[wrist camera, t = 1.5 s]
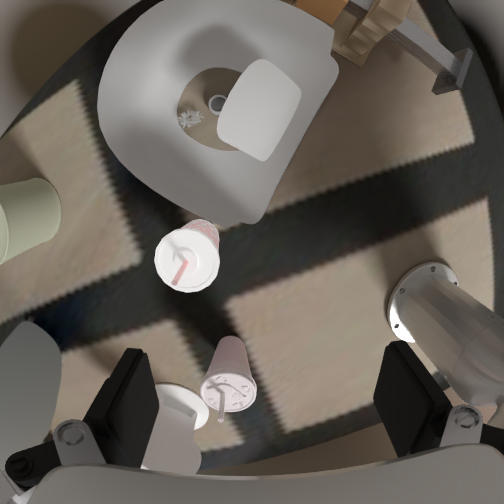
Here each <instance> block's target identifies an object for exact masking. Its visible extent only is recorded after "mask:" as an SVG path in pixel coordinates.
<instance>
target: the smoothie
mask: <svg viewBox="0 0 504 504" xmlns="http://www.w3.org/2000/svg"><path fill="white" fill-rule="evenodd" d="M256 391H257V388H256V383H255V381H254V379H253V378H252V376H251V372H250V368H249V363H248V359H247V354H246V350H245V345H244V343H243V341H242V340H241V339H240V338H238V337H235V336H226V337H224V338H222V339H221V340H220V341H219V343H218V345H217V348H216V351H215V353H214V356H213V359H212V361H211V364H210V367H209V369H208V372H207V374H206V375H205V376H204V377H203V379H202V381H201V385H200V395H201V397H202V399H203V401H204V402H205V403H206V404H207V405H209V406H210V407H212V408H214V409H216V410H219V416H218V421H219V422H223V421H224V412H236V411H240V410H243V409H245V408H247V407H249V406H250V405H251V404H252V403H253V402H254V400H255V398H256Z"/></svg>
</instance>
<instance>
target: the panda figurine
mask: <svg viewBox="0 0 504 504" xmlns="http://www.w3.org/2000/svg"><path fill="white" fill-rule="evenodd" d="M155 388H156V392H157V396H158V399H159V412H158V415H157V418H156V421H155V424H154V427H153V430H152V433H151V436H150V440H149V443H148V446H147V449H146V452H145V455H144V459H143V462H142V465H141V468H140V469H147V470H155V471H163V472H173V473H183V474H196V472H197V471H198V469H199V467H200V464H201V453H200V450H199V448H198V446H197V444H196V443H195V442H194V441H193V434H194V430H195V429H198V428H200V427H202V426H203V425H204V424H205V423H206V421H207V420H208V416H209V409H208V406H207V404H206V403H205V402H204V401H203V399H202V398H201V397H200V396H199V395H198V394H197V393H195V392H194V391H192V390H190V389H188V388H186V387H183V386H180V385H176V384H168V383H164V384H157V385H155Z"/></svg>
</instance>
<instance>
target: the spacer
mask: <svg viewBox="0 0 504 504" xmlns="http://www.w3.org/2000/svg"><path fill="white" fill-rule="evenodd" d="M348 1H349V0H297V3H296V6H295V7H297V8H299V9H301V10H304V11H306V12H308V13H310V14H312V15H314V16H316V17H318V18H320V19H322V20H323V21H325V22H327V23H329V24H331V25H332V24H333V23H334V21H335V20H336V18H337V17H338V15H339V14H340V12H341V11H342V10H343V8H344V7H345V5H346V4H347V2H348Z"/></svg>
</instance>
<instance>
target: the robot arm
mask: <svg viewBox="0 0 504 504" xmlns="http://www.w3.org/2000/svg"><path fill="white" fill-rule="evenodd" d="M387 319H388V323H389V326H390V328H391V330H392V331H393V332H394V334H395V335H396V336H397V337H399V338H400V339H402V340H400V341H392V342H390V344H389V346H386V348H385V352H384V356H383V360H382V365H381V369H380V373H379V377H378V381H377V384H376V388H375V392H374V396H373V400H374V404H375V406H376V408H377V411H378V413H379V415H380V417H381V419H382V422H383V424H384V426H385V428H386V431H387V433H388V435H389V437H390V440H391V442H392V444H393V447H394V449H395V451H396V454H397V456H398V458H395V459H390V460H386V461H382V462H376V463H372V464H367V465H361V466H356V467H350V468H344V469H338V470H330V471H322V472H313V473H303V474H291V475H275V476H211V475H210V476H209V475H195V474H183V473H173V472H163V471H155V470H147V469H140V468H141V465H142V462H143V459H144V455H145V452H146V449H147V446H148V443H149V440H150V436H151V433H152V430H153V427H154V424H155V421H156V418H157V415H158V412H159V399H158V396H157V392H156V388H155V384H154V380H153V376H152V372H151V368H150V364H149V360H148V356H147V353H143V351H142V349H135V348H127V349H126V351H125V352H124V354H123V356H122V357H121V359H120V361H119V362H118V364H117V366H116V367H115V369H114V371H113V372H112V374H111V376H110V378H107V379H106V380H105V382H104V384H103V385H102V387H101V389H100V391H99V392H98V394H97V396H96V397H95V399H94V401H93V403H92V404H91V406H90V408H89V410H88V412H87V413H86V415H85V417H84V419H83V420H82V421H81V420H75V419H71V420H66V421H64V422H62V423H60V424H59V425H58V426H57V427H56V429H55V430H54V433H53V438H54V440H52V441H49V442H46V443H43V444H40V445H37V446H35V447H32V448H29V449H26V450H22V451H19V452H16V453H14V454H12V455H11V456H10V457H9V458H8V460H7V461H6V464H5V470H4V471H1V470H0V504H504V320H503V319H501V318H500V317H499V316H497V315H496V314H495V313H494V312H492V311H491V310H490V309H488V308H487V307H486V306H484V305H483V304H481V303H480V302H479V301H477V300H476V299H475V298H473V297H472V296H471V295H469V294H468V293H466V292H465V291H464V290H462V289H461V288H459V282H458V279H457V276H456V275H455V273H454V272H453V271H452V270H451V269H450V268H449V267H448V266H446V265H445V264H442V263H440V262H433V261H432V262H425V263H422V264H420V265H417V266H416V267H414V268H412V269H411V270H410V271H409V272H407V273H406V274H405V275H404V276H403V277H402V278H401V279H400V281H399V282H398V283H397V285H396V286H395V288H394V290H393V292H392V294H391V296H390V300H389V303H388V309H387ZM406 341H407V342H416V343H417V344H418V346H419V347H420V348H421V349H422V351H423V352H424V353H425V354H426V355H427V357H428V358H429V359H430V360H431V362H432V363H433V364H434V365H435V367H436V368H437V369H438V370H439V372H440V373H441V374H442V375H443V377H444V378H445V379H446V381H447V382H448V383H449V384H450V386H451V387H452V388H453V390H454V391H455V392H456V393H457V395H458V396H459V397H460V398H461V399H462V400H463V401H464V402H466V403H468V404H470V405H474V406H495V405H497V410H496V412H495V413H494V415H493V416H492V417H491V419H490V420H489V421H488V423H487V424H483V416H482V414H481V412H480V411H479V410H478V409H476V408H475V407H473V406H470V405H465V404H463V405H458V406H455V407H454V408H453V406H452V405H451V402H450V401H449V399H448V398H447V396H446V395H445V393H444V392H443V391H442V389H441V388H440V387H439V385H438V384H437V382H436V381H435V380H434V378H433V377H432V376H431V374H430V373H429V371H428V370H427V369H426V367H425V366H424V365H423V363H422V362H421V361H420V359H419V358H418V357H417V355H416V354H415V353H414V352H413V350H412V349H411V348H410V346H409V345H408V344H407V342H406Z"/></svg>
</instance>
